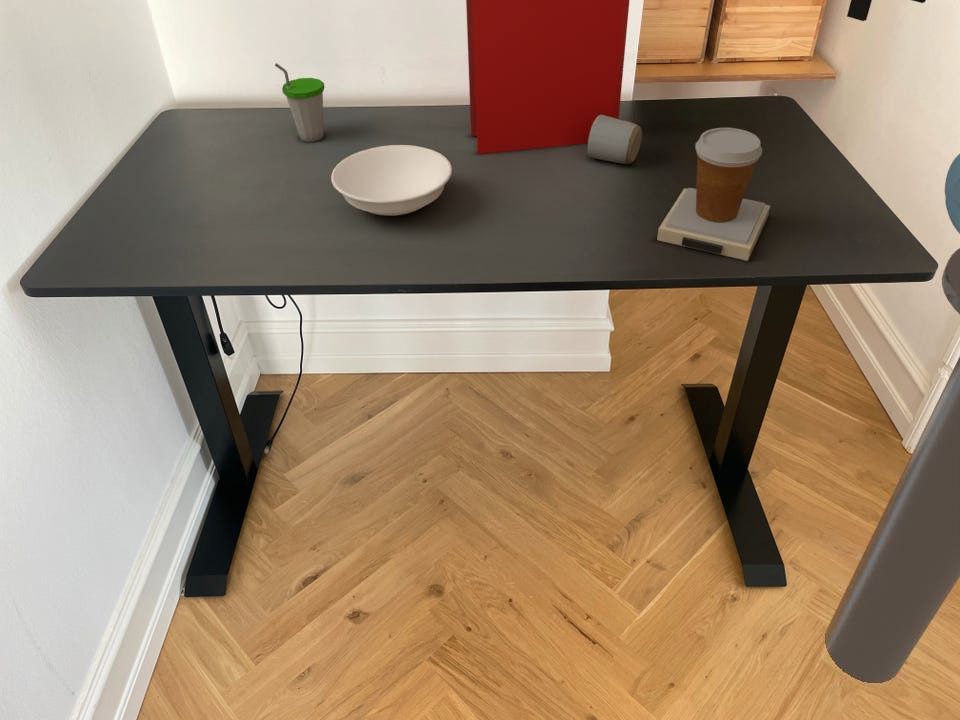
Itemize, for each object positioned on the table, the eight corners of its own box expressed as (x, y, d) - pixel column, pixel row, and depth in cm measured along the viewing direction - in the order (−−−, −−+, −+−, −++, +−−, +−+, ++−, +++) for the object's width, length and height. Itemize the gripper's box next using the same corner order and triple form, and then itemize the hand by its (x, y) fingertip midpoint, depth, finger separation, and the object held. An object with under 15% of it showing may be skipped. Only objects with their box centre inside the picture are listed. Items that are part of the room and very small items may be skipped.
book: (477, 153, 146) (471, -32, 125) (471, 135, 152) (464, -44, 131) (618, 140, 149) (635, -44, 128) (606, 122, 155) (621, -56, 134)
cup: (338, 130, 156) (326, 54, 146) (322, 147, 150) (308, 69, 140) (302, 127, 158) (288, 51, 148) (285, 143, 152) (269, 66, 142)
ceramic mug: (628, 172, 139) (633, 131, 134) (585, 164, 142) (588, 123, 137) (646, 148, 146) (651, 108, 141) (604, 141, 149) (607, 101, 144)
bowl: (438, 170, 141) (436, 137, 137) (467, 224, 127) (465, 189, 123) (329, 187, 138) (323, 154, 134) (345, 245, 123) (339, 209, 119)
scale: (767, 217, 126) (771, 201, 124) (746, 263, 116) (750, 246, 114) (682, 199, 131) (684, 184, 129) (655, 242, 121) (657, 225, 119)
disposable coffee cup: (673, 215, 122) (684, 142, 114) (703, 191, 127) (715, 121, 119) (730, 235, 117) (745, 160, 109) (758, 209, 122) (775, 137, 114)
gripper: (967, -177, 108) (916, -13, 122) (849, -157, 98) (808, 19, 112) (1021, -171, 103) (961, -1, 117) (903, -150, 93) (852, 33, 107)
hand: (886, 9), depth 114 cm, fingers open, 13 cm apart
